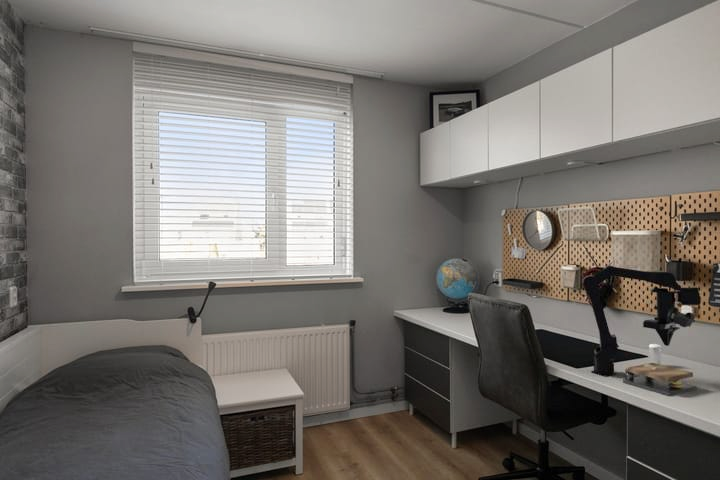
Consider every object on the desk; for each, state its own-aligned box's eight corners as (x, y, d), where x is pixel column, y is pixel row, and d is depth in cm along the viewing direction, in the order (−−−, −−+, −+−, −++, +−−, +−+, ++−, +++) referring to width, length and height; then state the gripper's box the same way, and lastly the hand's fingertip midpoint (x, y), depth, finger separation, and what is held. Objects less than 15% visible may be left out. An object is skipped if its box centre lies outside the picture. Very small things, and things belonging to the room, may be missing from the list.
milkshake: (665, 367, 180) (665, 343, 180) (650, 366, 182) (650, 342, 182) (662, 364, 184) (662, 341, 185) (648, 363, 186) (647, 340, 186)
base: (622, 382, 162) (622, 370, 162) (650, 376, 168) (649, 365, 168) (668, 396, 147) (668, 383, 147) (697, 389, 153) (697, 376, 153)
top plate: (625, 372, 162) (624, 363, 162) (649, 367, 167) (649, 359, 167) (667, 384, 148) (667, 375, 148) (693, 378, 153) (692, 369, 153)
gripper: (672, 308, 153) (673, 352, 153) (704, 305, 161) (705, 347, 161) (641, 305, 164) (642, 346, 163) (672, 302, 171) (673, 341, 171)
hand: (666, 345), depth 164 cm, fingers closed
